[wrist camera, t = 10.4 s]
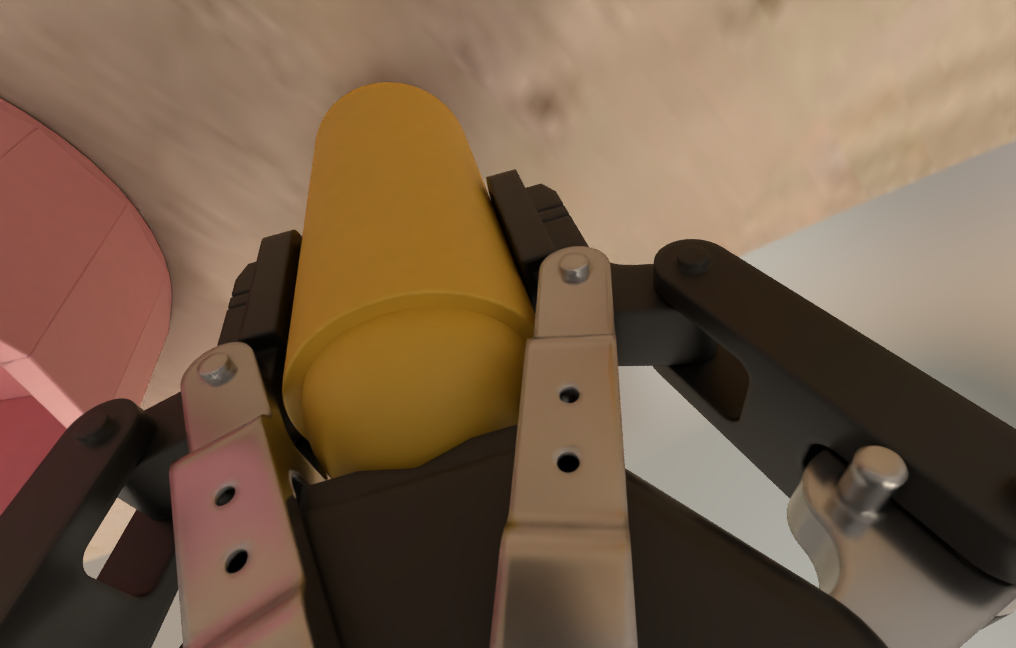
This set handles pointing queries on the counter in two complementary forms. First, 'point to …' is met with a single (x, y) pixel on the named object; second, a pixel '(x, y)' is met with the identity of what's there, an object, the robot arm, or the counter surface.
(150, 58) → the counter surface
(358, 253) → the yellow rounded cylinder
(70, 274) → the pot
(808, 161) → the counter surface
